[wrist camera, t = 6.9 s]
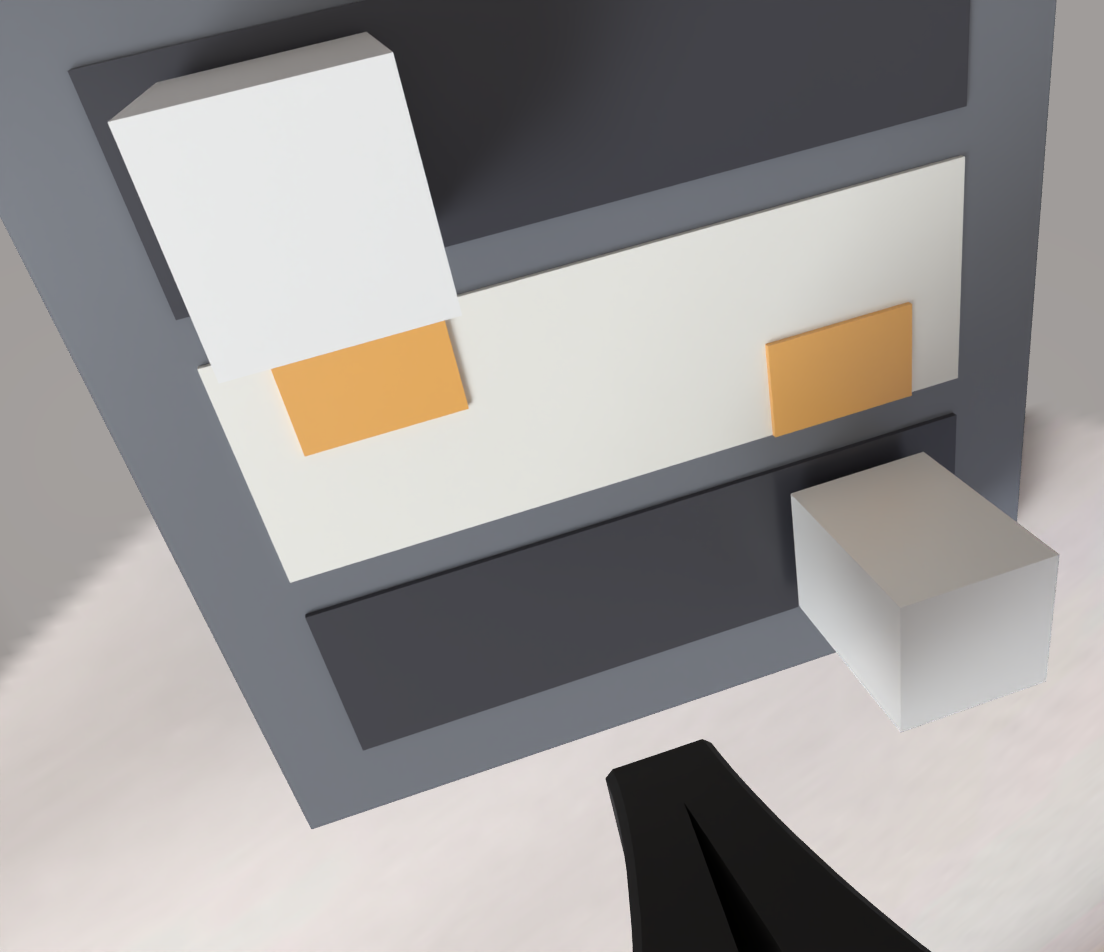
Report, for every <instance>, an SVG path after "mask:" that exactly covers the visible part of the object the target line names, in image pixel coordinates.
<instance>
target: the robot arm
mask: <svg viewBox="0 0 1104 952" xmlns="http://www.w3.org/2000/svg"><path fill="white" fill-rule="evenodd" d="M606 782H607V786H608V791H609V795H610V799H611V803H612V807H613V811H614V815H615V819H616V823H617V827H618V831H619V835H620V839H621V843H622V847H623V851H624V856H625V863H626V870H627V879H628V891H629V902H630V914H631V925H632V943H633V952H931V951H930V950H928V949H927V948H926V947H924V946H923V945H922V944H921V943H919V942H918V941H917V940H915V939H914V938H913V937H912V936H910V935H909V934H908V933H907V932H906V931H904V930H903V929H902V928H901V927H899V926H898V925H897V924H896V923H894V922H893V921H892V920H891V919H890V918H888V917H887V916H886V915H885V914H884V913H882V912H881V911H880V910H879V909H878V908H876V907H875V906H874V905H873V904H872V903H871V902H869V901H868V900H867V899H866V898H865V897H863V896H862V895H861V894H860V893H859V892H858V891H856V890H855V889H854V888H853V887H852V886H851V885H850V884H848V883H847V882H846V881H845V880H844V879H843V878H842V877H841V876H839V875H838V874H837V873H836V872H835V871H834V870H833V869H832V868H831V867H830V866H829V865H827V864H826V863H825V862H824V861H823V860H822V859H821V858H820V857H819V856H818V855H817V854H816V853H815V852H814V851H812V850H811V849H810V848H809V847H808V846H807V845H806V844H805V843H804V842H803V841H802V840H801V839H800V838H799V837H797V836H796V835H795V834H794V833H793V832H792V831H791V830H790V829H789V828H788V827H787V826H786V825H785V824H784V823H783V822H782V821H781V820H780V819H779V818H778V817H777V816H776V815H775V814H774V813H773V812H772V811H771V810H770V809H769V808H768V807H767V805H766V804H765V803H764V802H763V801H762V800H761V799H760V798H759V797H758V796H757V795H756V794H755V793H754V792H753V791H752V790H751V789H750V788H749V786H748V785H747V784H746V783H745V782H744V781H743V780H742V779H741V778H740V777H739V775H738V774H737V773H736V772H735V771H734V770H733V769H732V767H731V766H730V765H729V764H728V763H727V762H726V760H725V759H724V758H723V757H722V756H721V754H720V753H719V752H718V751H717V750H716V748H715V747H714V746H713V744H712V743H710V742H708V741H706V740H703V739H701V740H699V741H696V742H693V743H690V744H687V745H684V746H681V747H678V748H675V749H672V750H669V751H666V752H663V753H660V754H657V755H654V756H651V757H648V758H645V759H642V760H639V761H636V762H633V763H630V764H627V765H624V766H621V767H618V768H615V769H613V770H612V771H611V772H610V773H609V775H608V776H607V777H606Z"/></svg>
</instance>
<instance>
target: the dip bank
mask: <svg viewBox="0 0 1104 952" xmlns="http://www.w3.org/2000/svg"><path fill="white" fill-rule="evenodd" d="M1055 12H1056V0H0V217H1V219H2V221H3V223H4V225H5V227H6V229H7V231H8V233H9V235H10V237H11V239H12V241H13V243H14V245H15V247H16V249H17V251H18V253H19V255H20V257H21V258H22V260H23V262H24V265H25V267H26V268H27V270H28V272H29V274H30V276H31V278H32V280H33V282H34V284H35V286H36V288H37V290H38V292H39V294H40V296H41V298H42V300H43V302H44V304H45V306H46V308H47V310H48V312H49V314H50V316H51V317H52V320H53V321H54V324H55V326H56V327H57V329H58V331H59V333H60V335H61V337H62V339H63V341H64V343H65V345H66V347H67V349H68V351H69V353H70V355H71V357H72V359H73V361H74V363H75V365H76V367H77V369H78V370H79V373H80V375H81V376H82V378H83V381H84V383H85V385H86V386H87V388H88V390H89V392H90V394H91V396H92V398H93V400H94V402H95V404H96V406H97V408H98V410H99V412H100V414H101V416H102V418H103V420H104V422H105V424H106V426H107V428H108V430H109V432H110V434H111V436H112V437H113V439H114V442H115V444H116V446H117V448H118V449H119V451H120V453H121V455H122V457H123V459H124V461H125V463H126V465H127V467H128V469H129V471H130V473H131V475H132V477H133V479H134V481H135V483H136V485H137V487H138V489H139V491H140V493H141V495H142V497H143V499H144V501H145V503H146V505H147V507H148V508H149V510H150V512H151V514H152V516H153V518H154V520H155V522H156V524H157V526H158V528H159V530H160V532H161V534H162V536H163V538H164V540H165V542H166V544H167V546H168V548H169V550H170V552H171V554H172V556H173V558H174V560H175V562H176V564H177V566H178V568H179V570H180V572H181V573H182V575H183V577H184V579H185V581H186V583H187V585H188V587H189V589H190V591H191V593H192V595H193V597H194V599H195V601H196V603H197V605H198V607H199V609H200V611H201V613H202V615H203V617H204V619H205V621H206V623H207V625H208V627H209V629H210V631H211V633H212V634H213V636H214V638H215V640H216V642H217V644H218V646H219V648H220V650H221V652H222V654H223V656H224V658H225V660H226V662H227V664H228V666H229V668H230V670H231V672H232V674H233V676H234V678H235V680H236V682H237V684H238V686H239V688H240V690H241V692H242V694H243V695H244V697H245V699H246V701H247V703H248V705H249V707H250V709H251V711H252V713H253V715H254V717H255V719H256V721H257V723H258V725H259V727H260V729H261V731H262V733H263V735H264V737H265V739H266V741H267V743H268V745H269V747H270V749H271V751H272V753H273V755H274V756H275V758H276V760H277V762H278V764H279V766H280V768H281V770H282V772H283V774H284V776H285V778H286V780H287V782H288V784H289V786H290V788H291V790H292V792H293V794H294V796H295V798H296V800H297V802H298V804H299V806H300V808H301V810H302V812H303V814H304V816H305V817H306V819H307V821H308V823H309V825H310V827H311V829H314V828H317V827H320V826H323V825H326V824H329V823H332V822H335V821H338V820H341V819H344V818H347V817H350V816H353V815H356V814H359V813H362V812H365V811H367V810H370V809H373V808H376V807H379V806H382V805H385V804H388V803H391V802H394V801H397V800H400V799H403V798H406V797H409V796H412V795H415V794H418V793H421V792H424V791H427V790H430V789H433V788H436V787H438V786H441V785H444V784H447V783H450V782H453V781H456V780H459V779H462V778H465V777H468V776H471V775H474V774H477V773H480V772H483V771H486V770H489V769H492V768H495V767H498V766H501V765H504V764H507V763H510V762H512V761H515V760H518V759H521V758H524V757H527V756H530V755H533V754H536V753H539V752H542V751H545V750H548V749H551V748H554V747H557V746H560V745H563V744H566V743H569V742H572V741H575V740H578V739H581V738H583V737H586V736H589V735H592V734H595V733H598V732H601V731H604V730H607V729H610V728H613V727H616V726H619V725H622V724H625V723H628V722H631V721H634V720H637V719H640V718H643V717H646V716H649V715H652V714H655V713H657V712H660V711H663V710H666V709H669V708H672V707H675V706H678V705H681V704H684V703H687V702H690V701H693V700H696V699H699V698H702V697H705V696H708V695H711V694H714V693H717V692H720V691H723V690H726V689H728V688H731V687H734V686H737V685H740V684H743V683H746V682H749V681H752V680H755V679H758V678H761V677H764V676H767V675H770V674H773V673H776V672H779V671H782V670H785V669H788V668H791V667H794V666H797V665H800V664H802V663H805V662H808V661H811V660H814V659H817V658H820V657H823V656H826V655H829V654H832V653H835V652H836V651H835V650H834V649H833V648H832V646H831V645H830V644H829V643H828V641H827V640H826V639H825V638H824V636H823V635H822V634H821V633H820V631H819V630H818V629H817V628H816V626H815V625H814V624H813V623H812V621H811V620H810V619H809V618H808V616H807V615H806V614H805V613H804V611H803V610H802V609H801V608H800V606H799V598H798V585H797V572H796V558H795V545H794V532H793V519H792V506H791V493H794V492H797V491H800V490H803V489H807V488H810V487H813V486H816V485H819V484H823V483H826V482H829V481H832V480H835V479H838V478H842V477H845V476H848V475H851V474H854V473H857V472H861V471H864V470H867V469H870V468H873V467H876V466H880V465H883V464H886V463H889V462H892V461H895V460H899V459H902V458H905V457H908V456H911V455H915V454H918V453H921V452H925V453H926V454H927V455H929V456H930V457H931V458H932V459H934V460H935V461H936V462H938V463H939V464H940V465H942V466H943V467H944V468H946V469H947V470H948V471H950V472H951V473H952V474H954V475H955V476H956V477H958V478H959V479H960V480H962V481H963V482H964V483H966V484H967V485H968V486H969V487H971V488H972V489H973V490H975V491H976V492H977V493H979V494H980V495H981V496H983V497H984V498H985V499H987V500H988V501H989V502H991V503H992V504H993V505H995V506H996V507H997V508H999V509H1000V510H1001V511H1003V512H1004V513H1005V514H1007V515H1008V516H1009V517H1010V518H1012V519H1013V520H1014V521H1016V522H1017V512H1018V499H1019V486H1020V473H1021V460H1022V447H1023V433H1024V420H1025V407H1026V394H1027V381H1028V367H1029V354H1030V341H1031V328H1032V315H1033V302H1034V289H1035V276H1036V261H1037V249H1038V236H1039V222H1040V210H1041V197H1042V182H1043V170H1044V156H1045V144H1046V131H1047V118H1048V105H1049V104H1048V103H1049V90H1050V78H1051V65H1052V52H1053V38H1054V25H1055ZM363 32H368V33H369V34H370V35H371V36H373V37H374V38H375V39H377V40H378V41H379V42H380V43H382V44H383V45H384V46H386V47H387V48H388V49H390V50H391V51H392V52H393V54H394V58H395V62H396V65H397V69H398V73H399V77H400V81H401V84H402V88H403V92H404V96H405V100H406V103H407V107H408V111H409V115H410V119H411V122H412V126H413V130H414V134H415V138H416V141H417V145H418V149H419V153H420V157H421V160H422V164H423V168H424V172H425V176H426V179H427V183H428V187H429V191H430V195H431V198H432V202H433V206H434V210H435V214H436V217H437V221H438V225H439V229H440V233H441V236H442V240H443V244H444V248H445V252H446V255H447V259H448V263H449V267H450V271H451V274H452V278H453V282H454V286H455V290H456V293H457V297H458V301H459V305H460V309H461V312H462V316H459V317H455V318H452V319H448V320H444V321H441V322H437V323H434V324H430V325H427V326H423V327H419V328H416V329H412V330H409V331H405V332H402V333H398V334H394V335H391V336H387V337H384V338H380V339H377V340H373V341H369V342H366V343H362V344H359V345H355V346H352V347H348V348H344V349H341V350H337V351H334V352H330V353H327V354H323V355H319V356H316V357H312V358H309V359H305V360H302V361H298V362H294V363H291V364H287V365H284V366H280V367H277V368H273V369H269V370H266V371H262V372H259V373H255V374H252V375H248V376H244V377H241V378H237V379H234V380H230V381H226V382H223V383H218V381H217V378H216V376H215V374H214V371H213V369H212V367H211V364H210V362H209V360H208V357H207V355H206V353H205V350H204V348H203V346H202V343H201V341H200V338H199V336H198V334H197V331H196V329H195V327H194V324H193V322H192V320H191V317H190V315H189V313H188V310H187V308H186V306H185V303H184V301H183V298H182V296H181V294H180V291H179V289H178V287H177V284H176V282H175V280H174V277H173V275H172V273H171V270H170V268H169V266H168V263H167V261H166V259H165V256H164V254H163V251H162V249H161V247H160V244H159V242H158V240H157V237H156V235H155V233H154V230H153V228H152V226H151V223H150V221H149V219H148V216H147V214H146V211H145V209H144V207H143V204H142V202H141V200H140V197H139V195H138V193H137V190H136V188H135V186H134V183H133V181H132V179H131V176H130V174H129V172H128V169H127V167H126V164H125V162H124V160H123V157H122V155H121V153H120V150H119V148H118V146H117V143H116V141H115V139H114V136H113V134H112V132H111V129H110V127H109V124H108V121H109V120H111V119H112V118H113V117H114V116H116V115H117V114H118V113H119V112H120V111H122V110H123V109H124V108H125V107H127V106H128V105H129V104H130V103H132V102H133V101H134V100H135V99H136V98H138V97H139V96H140V95H141V94H143V93H144V92H145V91H146V90H148V89H149V88H150V87H151V86H152V85H154V84H155V83H156V82H160V81H164V80H168V79H173V78H177V77H181V76H185V75H189V74H193V73H197V72H202V71H206V70H210V69H214V68H218V67H222V66H226V65H231V64H235V63H239V62H243V61H247V60H251V59H255V58H260V57H264V56H268V55H272V54H276V53H280V52H284V51H289V50H293V49H297V48H301V47H305V46H309V45H313V44H318V43H322V42H326V41H330V40H334V39H338V38H342V37H347V36H351V35H355V34H359V33H363Z"/></svg>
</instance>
